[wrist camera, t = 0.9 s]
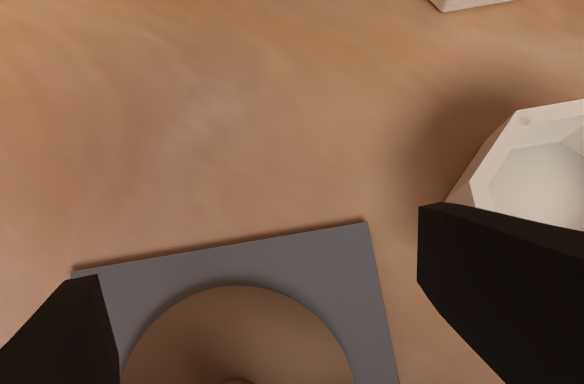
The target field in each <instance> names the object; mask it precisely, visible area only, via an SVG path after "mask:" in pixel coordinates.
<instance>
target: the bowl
mask: <svg viewBox="0 0 584 384" xmlns="http://www.w3.org/2000/svg"><path fill="white" fill-rule="evenodd" d="M444 202H447V203H455V204H461V205H466V206H471V207H476V208H481V209H485V210H489V211H493V212H498V213H502V214H506V215H510V216H514V217H519V218H523V219H527V220H531V221H536V222H540V223H545V224H549V225H554V226H559V227H564V228H569V229H574V230H579V231H584V99H580V100H574V101H568V102H562V103H557V104H551V105H545V106H539V107H533V108H528V109H522V110H516V111H515V112H514V113H513V114H512V115H511V116H510V117H509V118H508V119H507V120H506V121H505V122H504V123H503V124H502V125H501V126H500V127H499V128H498V129H497V130H496V131H495V132H494V133H493V134H492V135H491V136H490V137H489V138H488V139H487V140H486V141H485V142H484V143H483V145H482V146H481V148H480V149H479V151H478V152H477V154H476V155H475V157H474V158H473V160H472V161H471V162H470V164H469V165H468V167H467V168H466V170H465V171H464V173H463V174H462V176H461V177H460V179H459V180H458V182H457V183H456V185H455V186H454V188H453V189H452V191H451V192H450V194H449V195H448V197H447V198H446V200H445V201H444Z"/></svg>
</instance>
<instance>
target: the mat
mask: <svg viewBox="0 0 584 384" xmlns="http://www.w3.org/2000/svg"><path fill="white" fill-rule="evenodd" d="M93 274H98V278H99V282H100V285H101V289H102V293H103V297H104V301H105V304H106V308H107V312H108V316H109V319H110V323H111V327H112V331H113V334H114V338H115V342H116V346H117V349H118V353H119V364H120V380H121V377H122V374H123V371H124V369H125V366H126V363H127V361H128V359H129V357H130V355H131V353H132V351H133V349H134V348H135V346H136V345H137V343H138V341H139V340H140V338H141V337H142V335H143V334H144V333H145V332H146V331H147V329H148V328H149V327H150V326H151V325H152V324H153V322H155V321H156V320H157V319H158V318H159V317H160V316H161V315H162V314H163V313H164V312H166V311H167V310H168V309H170V308H171V307H173V306H174V305H175V304H177V303H179V302H180V301H182V300H184V299H186V298H188V297H190V296H192V295H194V294H197V293H200V292H202V291H205V290H209V289H213V288H217V287H224V286H234V285H237V286H253V287H259V288H265V289H269V290H272V291H275V292H278V293H281V294H283V295H285V296H287V297H290V298H292V299H294V300H296V301H297V302H299V303H300V304H302V305H303V306H305V307H306V308H308V309H309V310H310V311H311V312H313V313H314V314H315V315H316V316H317V317H318V318H319V319H320V320H321V321H322V322H323V323H324V324H325V325H326V326H327V327H328V328H329V330H330V331H331V332H332V334H333V335H334V337H335V338H336V340H337V341H338V342H339V344H340V346H341V348H342V350H343V352H344V354H345V356H346V358H347V360H348V363H349V366H350V368H351V371H352V374H353V377H354V381H355V384H400V383H399V378H398V373H397V368H396V363H395V358H394V353H393V348H392V343H391V338H390V333H389V327H388V322H387V317H386V312H385V307H384V302H383V297H382V292H381V287H380V282H379V277H378V272H377V267H376V262H375V257H374V252H373V247H372V242H371V237H370V232H369V227H368V222H362V223H356V224H350V225H344V226H338V227H332V228H326V229H321V230H315V231H309V232H303V233H297V234H291V235H285V236H279V237H273V238H267V239H261V240H255V241H249V242H243V243H237V244H231V245H225V246H220V247H214V248H208V249H202V250H196V251H190V252H184V253H178V254H172V255H166V256H160V257H154V258H148V259H142V260H136V261H130V262H124V263H119V264H113V265H107V266H101V267H95V268H89V269H83V270H77V271H71V279H74V278H79V277H84V276H88V275H93Z"/></svg>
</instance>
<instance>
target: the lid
mask: <svg viewBox="0 0 584 384" xmlns="http://www.w3.org/2000/svg"><path fill="white" fill-rule="evenodd" d="M120 384H355V381H354V377H353V374H352V371H351V368H350V366H349V363H348V360H347V358H346V356H345V354H344V352H343V350H342V348H341V346H340V344H339V342H338V341H337V340H336V338H335V337H334V335H333V334H332V332H331V331H330V330H329V328H328V327H327V326H326V325H325V324H324V323H323V322H322V321H321V320H320V319H319V318H318V317H317V316H316V315H315V314H314V313H313V312H311V311H310V310H309V309H308V308H306V307H305V306H303V305H302V304H300V303H299V302H297V301H296V300H294V299H292V298H290V297H287V296H285V295H283V294H281V293H278V292H275V291H272V290H269V289H265V288H259V287H253V286H237V285H234V286H224V287H217V288H213V289H209V290H205V291H202V292H200V293H197V294H194V295H192V296H190V297H188V298H186V299H184V300H182V301H180V302H179V303H177V304H175V305H174V306H173V307H171V308H170V309H168V310H167V311H166V312H164V313H163V314H162V315H161V316H160V317H159V318H158V319H157V320H156V321H155V322H153V324H152V325H151V326H150V327H149V328H148V329H147V331H146V332H145V333H144V334H143V335H142V337H141V338H140V340H139V341H138V343H137V345H136V346H135V348H134V349H133V351H132V353H131V355H130V357H129V359H128V361H127V363H126V366H125V369H124V371H123V374H122V377H121V380H120Z"/></svg>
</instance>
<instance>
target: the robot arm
mask: <svg viewBox="0 0 584 384" xmlns="http://www.w3.org/2000/svg"><path fill="white" fill-rule="evenodd" d="M417 282H418V284H419V285H420V287H421V288H422V290H423V291H424V293H425V294H426V296H427V297H428V299H429V300H430V301H431V303H432V304H433V305H434V307H435V308H436V310H437V311H438V312H439V314H440V315H441V316H442V317H443V318H444V319H445V320H446V321H447V322H448V323H449V325H450V326H451V327H452V328H453V329H454V330H455V331H456V332H457V333H458V334H459V335H460V336H461V337H462V338H463V339H464V340H465V342H466V343H467V344H468V345H469V346H470V347H471V348H472V349H473V350H474V351H475V352H476V353H477V354H478V355H479V356H480V357H481V358H482V359H483V360H484V361H485V362H486V363H487V364H488V365H489V367H490V368H491V369H492V370H493V371H494V372H495V373H496V374H497V375H498V376H499V377H500V378H501V379H502V380H503V381H504V382H505V383H506V384H584V231H579V230H574V229H569V228H564V227H559V226H554V225H549V224H545V223H540V222H536V221H531V220H527V219H523V218H519V217H514V216H510V215H506V214H502V213H498V212H493V211H489V210H485V209H481V208H476V207H471V206H466V205H461V204H455V203H447V202H439V203H434V204H429V205H425V206H420V207H419V215H418V252H417ZM0 384H120V364H119V353H118V349H117V346H116V342H115V338H114V334H113V331H112V327H111V323H110V319H109V316H108V312H107V308H106V304H105V301H104V297H103V293H102V289H101V285H100V282H99V278H98V274H93V275H88V276H84V277H79V278H74V279H69V280H65V281H64V282H63V283H62V284H61V285H60V286H59V287H58V288H57V289H56V290H55V291H54V292H53V293H52V294H51V295H50V296H49V298H48V299H47V300H46V301H45V302H44V303H43V304H42V305H41V306H40V308H39V309H38V310H37V311H36V312H35V313H34V314H33V315H32V316H31V317H30V319H29V320H28V321H27V322H26V323H25V324H24V325H23V326H22V327H21V328H20V329H19V330H18V331H17V333H16V334H15V335H14V336H13V337H12V338H11V339H10V340H9V341H8V342H7V343H6V344H5V345H4V346H3V347H2V348H1V349H0Z"/></svg>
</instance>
